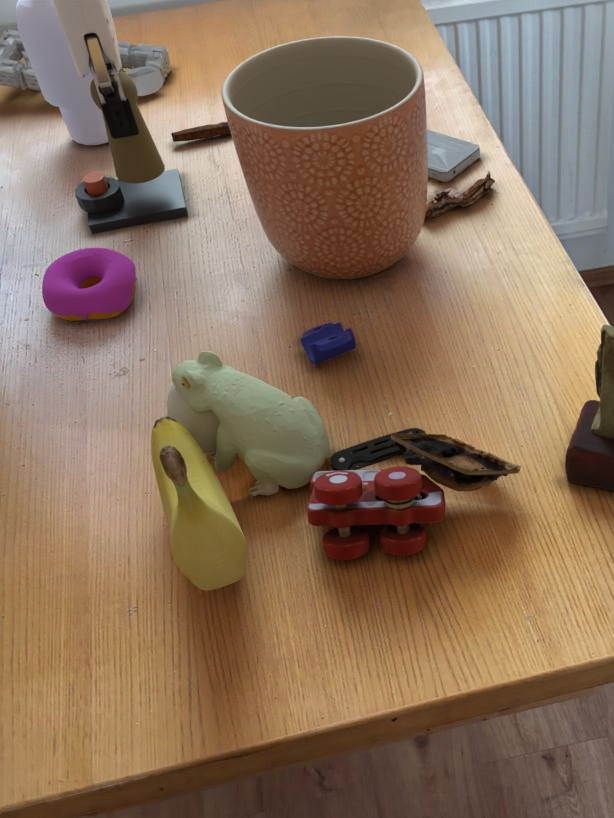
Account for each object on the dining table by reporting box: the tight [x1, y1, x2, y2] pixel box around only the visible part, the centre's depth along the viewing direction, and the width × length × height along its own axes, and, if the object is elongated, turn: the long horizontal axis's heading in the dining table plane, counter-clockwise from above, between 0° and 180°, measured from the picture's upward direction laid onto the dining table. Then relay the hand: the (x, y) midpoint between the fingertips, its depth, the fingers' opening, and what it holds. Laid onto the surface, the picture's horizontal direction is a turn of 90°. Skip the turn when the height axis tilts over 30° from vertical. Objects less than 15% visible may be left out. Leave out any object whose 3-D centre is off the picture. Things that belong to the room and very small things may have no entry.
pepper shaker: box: [90, 71, 166, 184], centre depth 110 cm, size 6×6×11 cm
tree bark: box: [425, 170, 496, 218], centre depth 115 cm, size 6×12×2 cm, turn 132°
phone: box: [427, 129, 481, 183], centre depth 122 cm, size 8×16×1 cm, turn 55°
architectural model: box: [0, 29, 172, 97], centre depth 137 cm, size 12×25×5 cm, turn 85°
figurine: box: [166, 350, 332, 497], centre depth 86 cm, size 10×16×10 cm, turn 64°
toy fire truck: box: [306, 465, 446, 561], centre depth 82 cm, size 7×12×10 cm
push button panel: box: [74, 168, 189, 235], centre depth 117 cm, size 13×10×3 cm
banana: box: [150, 416, 247, 591], centre depth 75 cm, size 26×6×13 cm
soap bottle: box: [15, 0, 109, 146], centre depth 119 cm, size 10×10×24 cm
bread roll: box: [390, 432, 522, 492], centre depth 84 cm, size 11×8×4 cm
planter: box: [220, 35, 429, 280], centre depth 102 cm, size 21×21×19 cm
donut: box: [41, 246, 138, 322], centre depth 104 cm, size 10×10×5 cm
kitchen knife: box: [170, 121, 231, 143], centre depth 129 cm, size 21×2×5 cm
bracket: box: [299, 321, 357, 367], centre depth 97 cm, size 9×5×3 cm, turn 25°
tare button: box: [82, 171, 109, 195], centre depth 115 cm, size 3×3×2 cm
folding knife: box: [329, 427, 427, 471], centre depth 89 cm, size 10×1×3 cm
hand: (123, 122), depth 110 cm, fingers closed on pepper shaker, 5 cm apart
